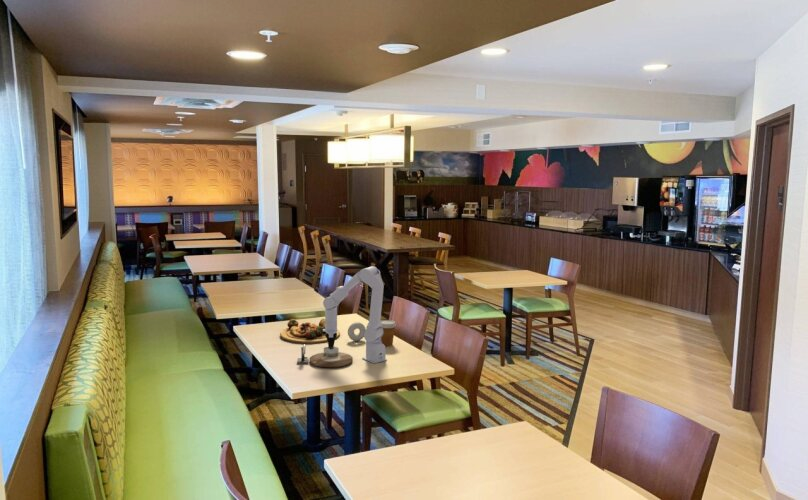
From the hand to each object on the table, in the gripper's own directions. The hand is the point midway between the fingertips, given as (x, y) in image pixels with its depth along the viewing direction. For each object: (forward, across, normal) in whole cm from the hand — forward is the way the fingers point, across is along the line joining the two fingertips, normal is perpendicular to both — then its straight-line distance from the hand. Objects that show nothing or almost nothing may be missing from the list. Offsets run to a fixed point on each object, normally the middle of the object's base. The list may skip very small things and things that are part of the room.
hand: (331, 347), depth 286 cm
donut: (+3, -21, +13) cm, 25 cm away
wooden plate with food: (+3, -32, -12) cm, 34 cm away
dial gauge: (+3, +13, -13) cm, 19 cm away
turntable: (+3, +13, 0) cm, 13 cm away
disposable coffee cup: (+3, -13, +28) cm, 31 cm away
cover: (+1, +8, 0) cm, 8 cm away
